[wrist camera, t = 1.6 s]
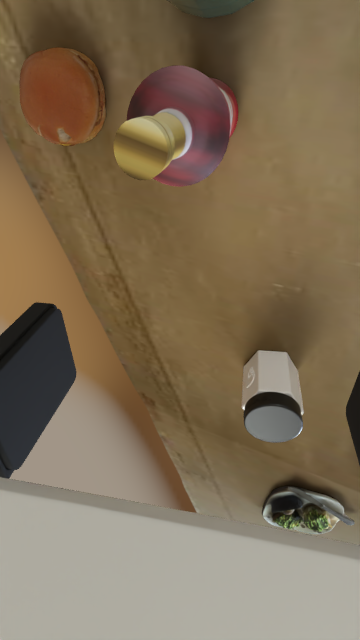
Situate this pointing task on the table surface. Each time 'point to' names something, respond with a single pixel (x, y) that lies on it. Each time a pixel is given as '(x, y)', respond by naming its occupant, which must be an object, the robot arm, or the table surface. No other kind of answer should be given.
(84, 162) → the table surface
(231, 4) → the ice bucket
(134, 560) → the robot arm
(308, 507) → the salad plate
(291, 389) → the jar
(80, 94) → the burger
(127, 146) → the liquor
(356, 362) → the table surface
